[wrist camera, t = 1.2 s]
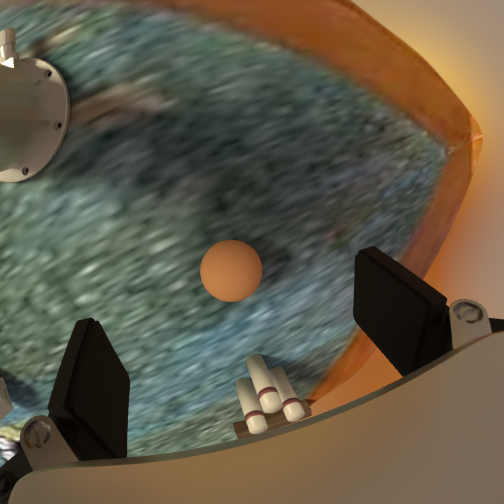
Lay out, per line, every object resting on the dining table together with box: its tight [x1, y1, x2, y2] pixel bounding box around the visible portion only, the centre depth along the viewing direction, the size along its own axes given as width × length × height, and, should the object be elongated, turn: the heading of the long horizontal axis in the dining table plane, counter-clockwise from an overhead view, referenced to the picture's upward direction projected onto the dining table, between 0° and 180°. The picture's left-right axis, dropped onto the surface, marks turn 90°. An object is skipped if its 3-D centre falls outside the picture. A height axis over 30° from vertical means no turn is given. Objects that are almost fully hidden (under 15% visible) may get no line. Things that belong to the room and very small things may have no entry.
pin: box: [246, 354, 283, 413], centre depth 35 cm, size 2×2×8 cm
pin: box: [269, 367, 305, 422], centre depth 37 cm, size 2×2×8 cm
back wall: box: [233, 399, 312, 439], centre depth 44 cm, size 2×13×2 cm, turn 101°
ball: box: [200, 240, 262, 302], centre depth 29 cm, size 6×6×6 cm
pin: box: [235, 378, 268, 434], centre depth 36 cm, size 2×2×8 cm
